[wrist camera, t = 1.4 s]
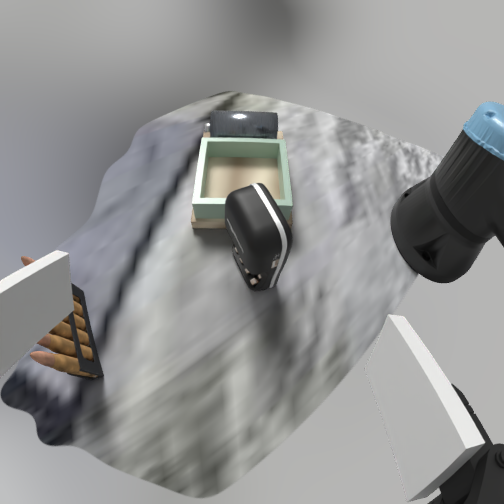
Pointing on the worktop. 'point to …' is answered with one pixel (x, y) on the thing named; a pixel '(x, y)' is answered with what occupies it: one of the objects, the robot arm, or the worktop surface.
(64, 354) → the ammunition clip
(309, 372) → the worktop surface
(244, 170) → the mint green tray
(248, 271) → the battery charger
